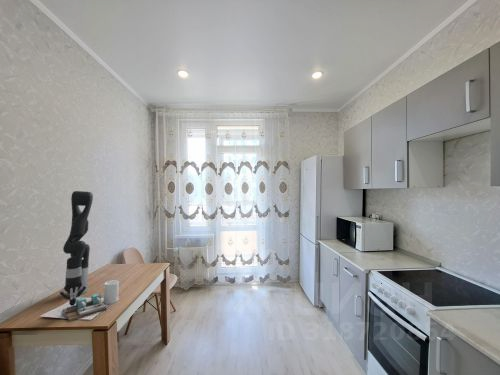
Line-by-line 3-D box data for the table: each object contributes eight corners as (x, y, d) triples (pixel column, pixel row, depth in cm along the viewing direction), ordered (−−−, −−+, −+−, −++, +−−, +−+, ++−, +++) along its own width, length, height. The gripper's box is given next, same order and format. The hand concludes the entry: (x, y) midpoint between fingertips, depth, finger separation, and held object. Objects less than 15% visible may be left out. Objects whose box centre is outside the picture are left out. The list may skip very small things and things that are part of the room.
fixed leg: (91, 302, 145) (91, 294, 145) (98, 300, 148) (98, 292, 148) (96, 308, 139) (96, 299, 139) (103, 305, 142) (104, 297, 142)
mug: (109, 296, 158) (109, 278, 159) (122, 295, 159) (123, 278, 160) (100, 304, 147) (101, 285, 147) (115, 303, 148) (116, 284, 148)
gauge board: (62, 311, 137) (63, 306, 137) (98, 301, 150) (98, 296, 151) (69, 321, 126) (69, 315, 126) (106, 309, 140) (106, 304, 140)
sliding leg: (76, 307, 139) (76, 298, 140) (83, 304, 142) (84, 296, 143) (80, 313, 133) (80, 304, 133) (88, 310, 136) (89, 301, 136)
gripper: (85, 271, 144) (84, 299, 144) (58, 276, 134) (56, 306, 134) (88, 274, 139) (87, 303, 139) (60, 279, 129) (59, 311, 129)
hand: (72, 305), depth 136 cm, fingers closed
